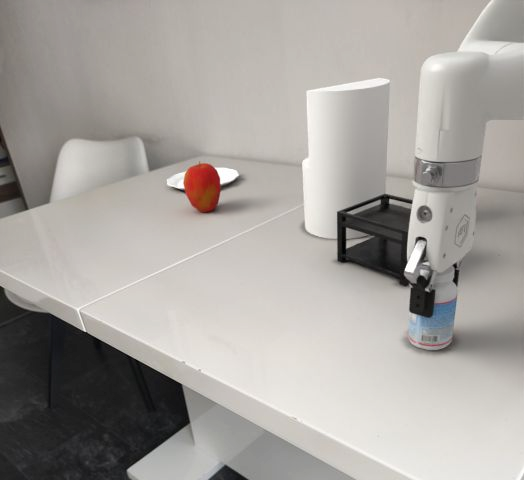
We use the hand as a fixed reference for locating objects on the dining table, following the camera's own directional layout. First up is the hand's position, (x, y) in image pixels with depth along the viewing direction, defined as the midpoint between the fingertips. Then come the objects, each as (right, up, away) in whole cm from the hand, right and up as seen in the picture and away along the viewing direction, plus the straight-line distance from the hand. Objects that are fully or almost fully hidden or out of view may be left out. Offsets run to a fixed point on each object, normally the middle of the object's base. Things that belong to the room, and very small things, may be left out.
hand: (433, 303), depth 74 cm
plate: (-41, +42, +83) cm, 101 cm away
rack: (+1, +10, +26) cm, 28 cm away
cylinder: (-5, +21, +45) cm, 50 cm away
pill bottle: (0, -5, +3) cm, 6 cm away
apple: (-38, +29, +61) cm, 77 cm away
